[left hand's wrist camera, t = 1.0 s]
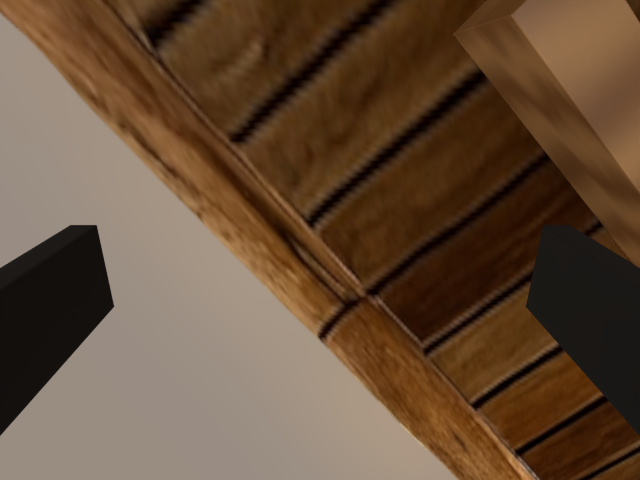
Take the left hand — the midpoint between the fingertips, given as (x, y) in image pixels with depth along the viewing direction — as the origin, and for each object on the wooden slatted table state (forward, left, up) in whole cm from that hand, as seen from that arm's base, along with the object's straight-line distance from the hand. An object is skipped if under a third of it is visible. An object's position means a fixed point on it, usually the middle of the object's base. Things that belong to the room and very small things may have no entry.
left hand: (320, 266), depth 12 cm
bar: (-15, +14, -21) cm, 29 cm away
